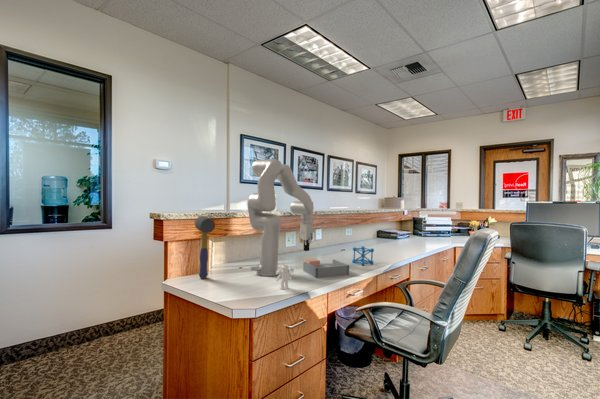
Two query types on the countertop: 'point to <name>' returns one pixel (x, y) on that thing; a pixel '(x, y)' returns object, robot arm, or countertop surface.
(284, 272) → the flower shoulder figurine
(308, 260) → the terracotta tile
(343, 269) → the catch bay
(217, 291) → the countertop surface
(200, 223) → the rubber mallet
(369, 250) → the molecular structure
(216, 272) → the countertop surface
